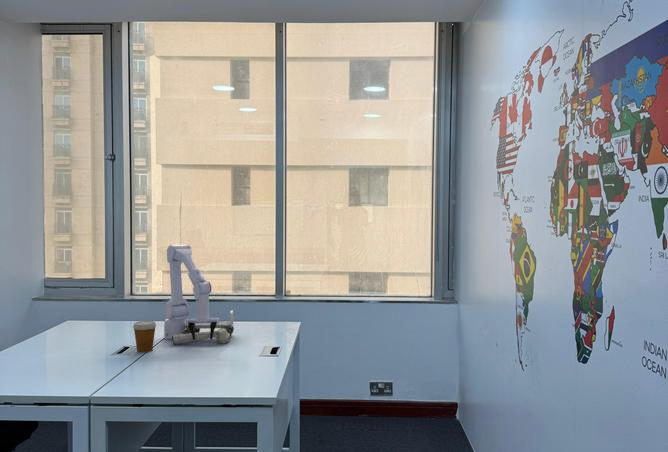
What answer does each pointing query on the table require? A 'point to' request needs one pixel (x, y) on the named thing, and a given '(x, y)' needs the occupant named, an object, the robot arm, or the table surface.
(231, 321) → the trolley
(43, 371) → the table surface
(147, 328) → the disposable coffee cup
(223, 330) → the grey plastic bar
